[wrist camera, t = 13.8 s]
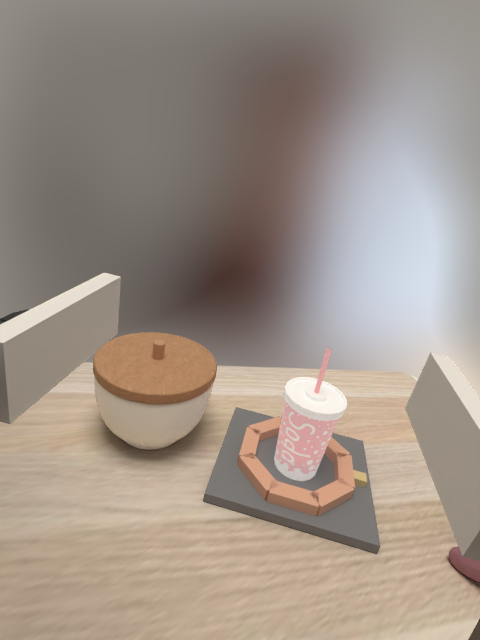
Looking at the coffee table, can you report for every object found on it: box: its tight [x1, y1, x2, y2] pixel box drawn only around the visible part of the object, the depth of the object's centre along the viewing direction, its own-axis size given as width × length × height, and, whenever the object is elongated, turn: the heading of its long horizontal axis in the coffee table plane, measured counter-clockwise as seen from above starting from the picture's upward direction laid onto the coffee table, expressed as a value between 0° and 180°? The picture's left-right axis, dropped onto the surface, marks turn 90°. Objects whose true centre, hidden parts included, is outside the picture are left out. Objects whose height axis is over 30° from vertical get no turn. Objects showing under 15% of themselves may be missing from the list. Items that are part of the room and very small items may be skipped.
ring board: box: [203, 407, 380, 554], centre depth 40 cm, size 16×14×2 cm
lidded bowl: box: [93, 332, 217, 450], centre depth 40 cm, size 13×13×11 cm
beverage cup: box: [274, 348, 347, 481], centre depth 37 cm, size 6×6×14 cm
